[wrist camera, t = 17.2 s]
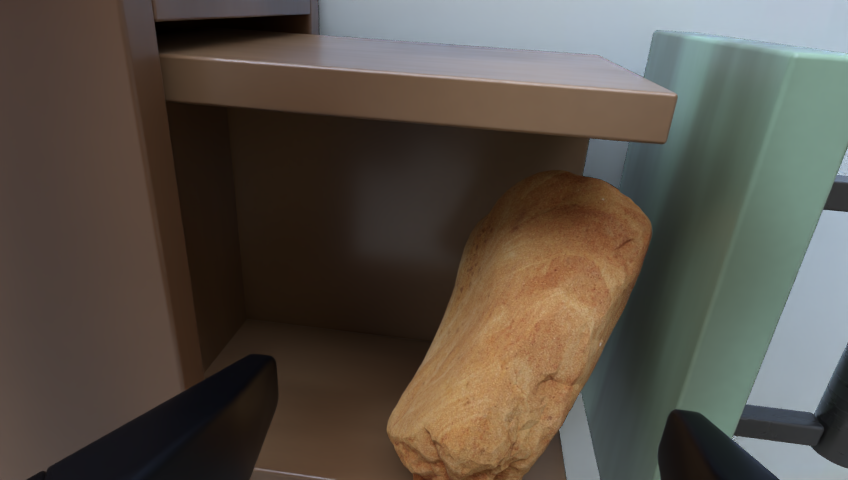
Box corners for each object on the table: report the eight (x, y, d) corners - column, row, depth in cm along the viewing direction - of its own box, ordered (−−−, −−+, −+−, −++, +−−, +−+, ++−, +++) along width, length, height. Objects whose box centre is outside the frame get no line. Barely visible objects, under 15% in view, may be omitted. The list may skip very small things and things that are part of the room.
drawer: (900, 46, 13) (1292, 85, 7) (756, 398, 18) (907, 624, 12) (210, 0, 15) (-15, -5, 8) (243, 333, 20) (115, 499, 13)
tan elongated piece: (746, 322, 10) (580, 169, 13) (754, 291, 9) (560, 121, 11) (456, 542, 11) (358, 356, 14) (406, 556, 10) (306, 340, 12)
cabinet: (318, -16, 15) (113, -41, 7) (326, 342, 21) (212, 568, 12) (-131, -45, 17) (-745, -93, 8) (-17, 299, 22) (-328, 477, 14)
